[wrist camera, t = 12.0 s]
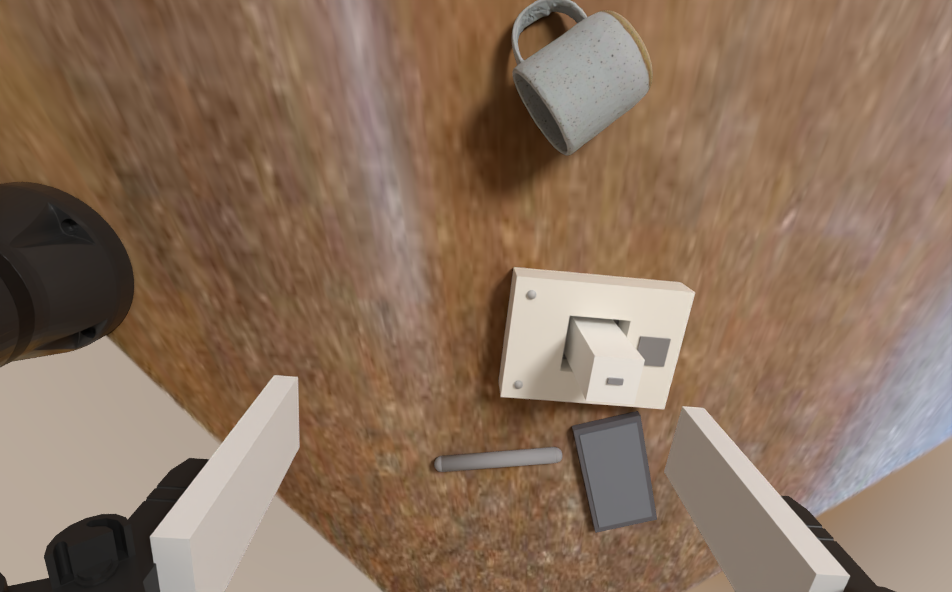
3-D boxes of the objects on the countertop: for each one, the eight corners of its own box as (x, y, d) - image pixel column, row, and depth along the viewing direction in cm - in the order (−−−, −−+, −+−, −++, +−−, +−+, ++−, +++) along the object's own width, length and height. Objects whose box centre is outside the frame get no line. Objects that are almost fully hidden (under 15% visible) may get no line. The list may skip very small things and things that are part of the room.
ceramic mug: (638, 95, 40) (676, 84, 32) (556, 156, 41) (575, 159, 34) (568, -24, 37) (593, -64, 30) (483, 46, 38) (487, 24, 31)
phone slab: (593, 527, 55) (595, 533, 54) (571, 426, 50) (573, 431, 49) (654, 513, 54) (657, 520, 53) (637, 411, 50) (640, 415, 49)
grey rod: (435, 465, 52) (434, 475, 50) (433, 453, 51) (433, 463, 50) (560, 455, 52) (563, 465, 50) (560, 443, 51) (563, 452, 50)
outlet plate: (498, 381, 48) (500, 397, 45) (513, 267, 44) (517, 276, 41) (652, 393, 49) (665, 410, 46) (680, 282, 45) (696, 293, 42)
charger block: (563, 351, 47) (586, 401, 38) (570, 314, 46) (595, 357, 37) (603, 355, 47) (635, 405, 39) (611, 317, 46) (645, 361, 37)
